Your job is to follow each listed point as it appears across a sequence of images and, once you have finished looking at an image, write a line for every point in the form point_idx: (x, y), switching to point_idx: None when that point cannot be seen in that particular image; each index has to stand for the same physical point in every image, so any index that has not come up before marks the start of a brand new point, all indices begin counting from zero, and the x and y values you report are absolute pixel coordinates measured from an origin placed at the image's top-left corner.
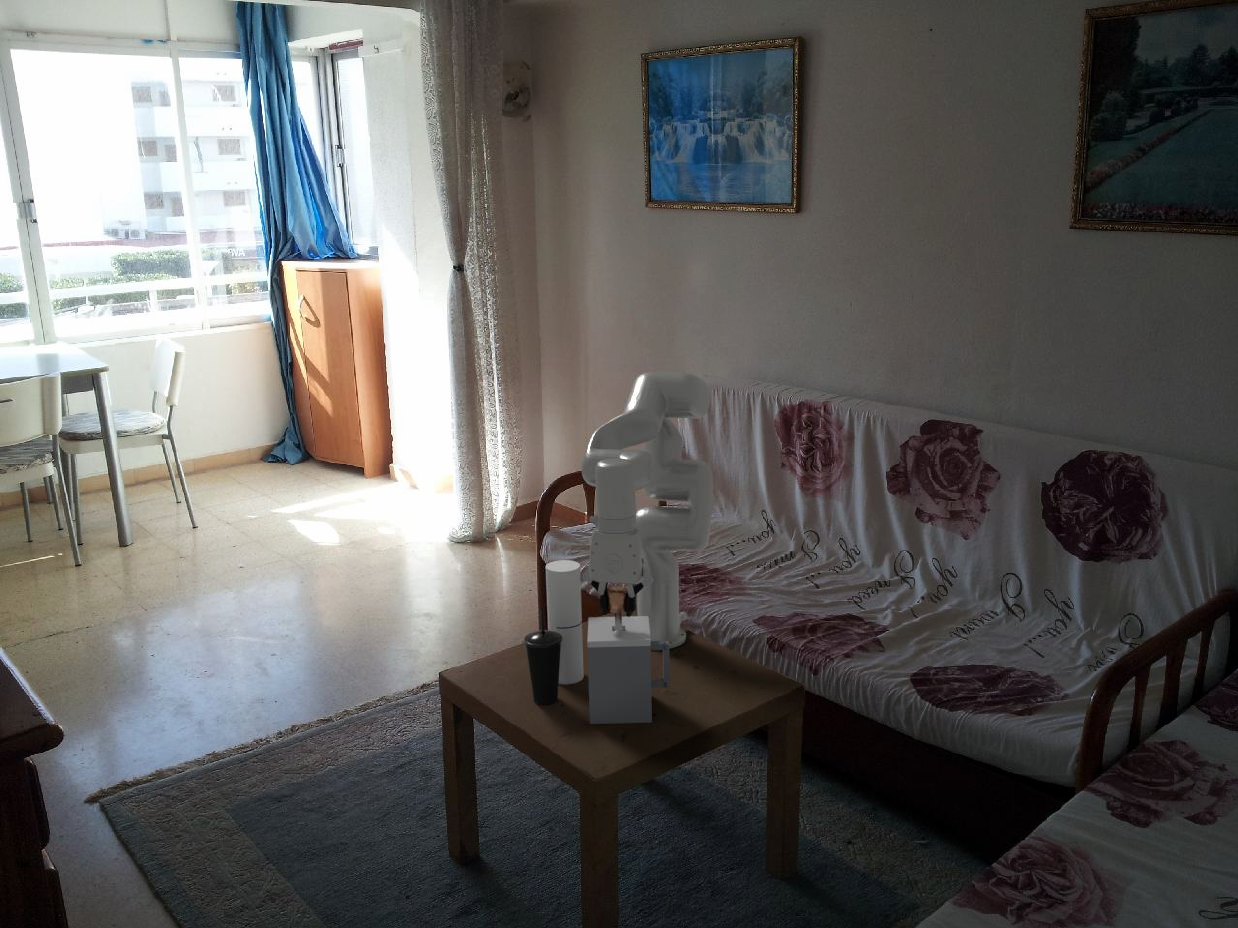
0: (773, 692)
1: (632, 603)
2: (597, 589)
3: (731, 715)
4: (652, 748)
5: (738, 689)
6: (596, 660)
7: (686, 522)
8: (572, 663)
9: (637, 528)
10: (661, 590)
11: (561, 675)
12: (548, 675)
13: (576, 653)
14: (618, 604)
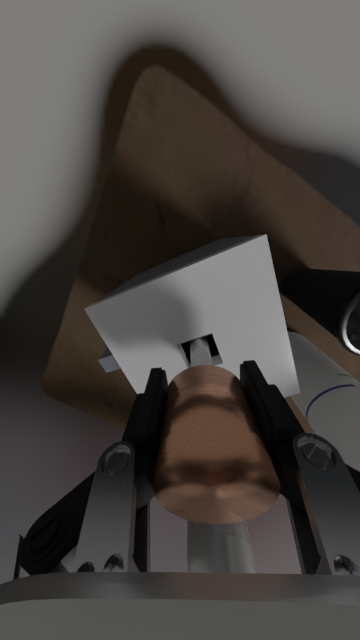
0: (53, 376)
1: (134, 417)
2: (350, 475)
3: (65, 318)
4: (110, 199)
5: (88, 373)
6: (224, 245)
7: None
8: None
9: None
10: None
11: (293, 337)
12: (319, 277)
13: None
14: (190, 394)
